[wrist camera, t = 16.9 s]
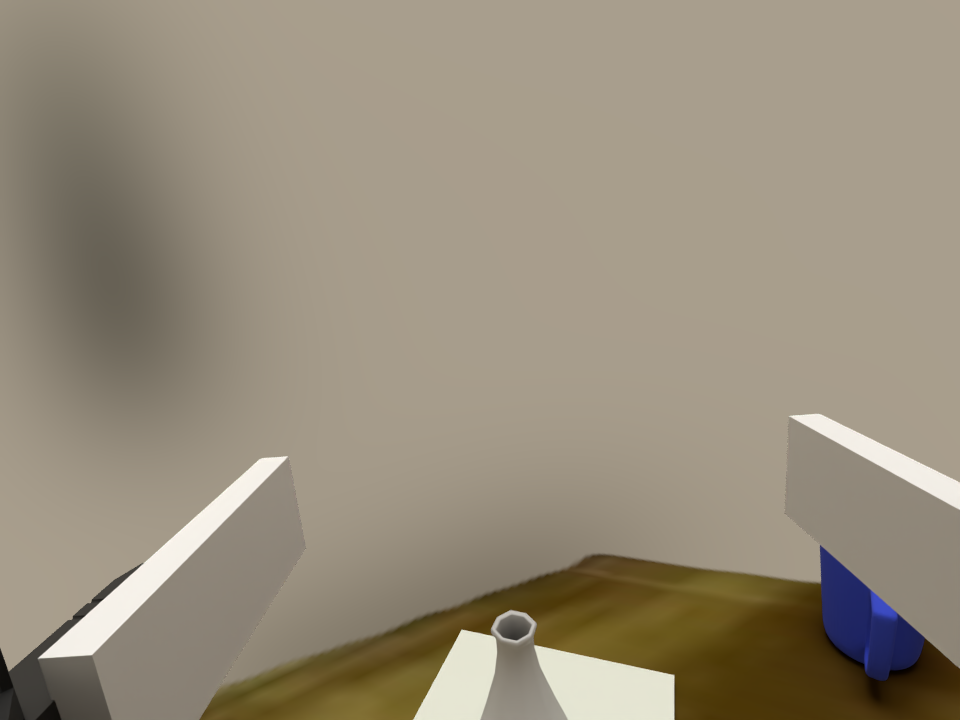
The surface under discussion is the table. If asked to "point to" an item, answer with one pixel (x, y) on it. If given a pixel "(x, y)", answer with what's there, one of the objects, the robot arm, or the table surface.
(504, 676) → the flask
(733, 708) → the table surface
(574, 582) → the table surface
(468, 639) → the white rectangular board
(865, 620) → the mug
